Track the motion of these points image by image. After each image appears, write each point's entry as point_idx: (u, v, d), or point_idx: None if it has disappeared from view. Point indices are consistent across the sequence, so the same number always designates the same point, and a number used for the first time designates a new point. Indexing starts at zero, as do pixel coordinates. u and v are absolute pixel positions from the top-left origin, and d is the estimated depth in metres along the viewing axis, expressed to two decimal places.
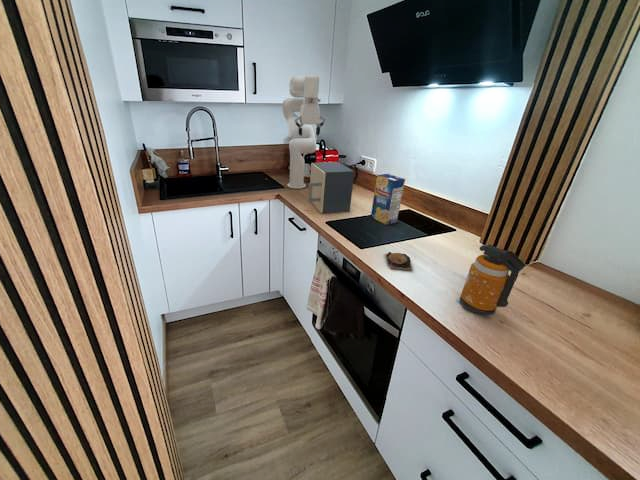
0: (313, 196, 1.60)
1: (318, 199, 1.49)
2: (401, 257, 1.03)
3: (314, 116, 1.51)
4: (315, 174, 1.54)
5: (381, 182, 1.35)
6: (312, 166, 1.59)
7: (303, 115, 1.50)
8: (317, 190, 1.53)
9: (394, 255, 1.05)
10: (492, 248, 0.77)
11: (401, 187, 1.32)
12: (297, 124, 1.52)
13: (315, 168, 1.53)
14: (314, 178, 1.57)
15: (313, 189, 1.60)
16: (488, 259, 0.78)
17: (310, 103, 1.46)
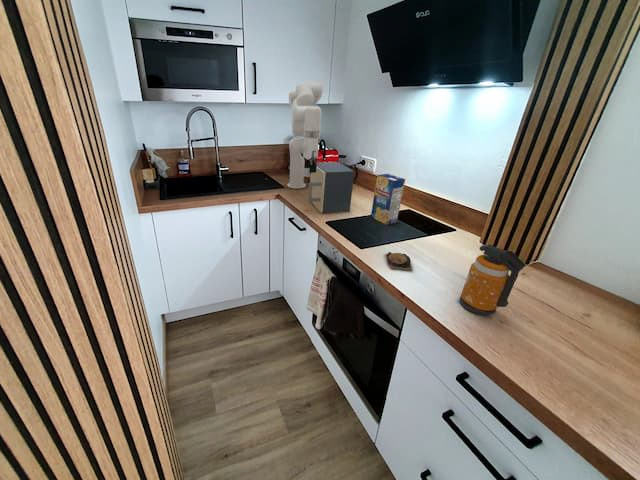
0: (313, 196, 1.60)
1: (318, 199, 1.49)
2: (401, 257, 1.03)
3: None
4: (315, 174, 1.54)
5: (381, 182, 1.35)
6: None
7: (317, 150, 1.35)
8: (317, 190, 1.53)
9: (394, 255, 1.05)
10: (492, 248, 0.77)
11: (401, 187, 1.32)
12: (316, 161, 1.34)
13: None
14: (314, 178, 1.57)
15: (313, 189, 1.60)
16: (488, 259, 0.78)
17: (319, 136, 1.36)
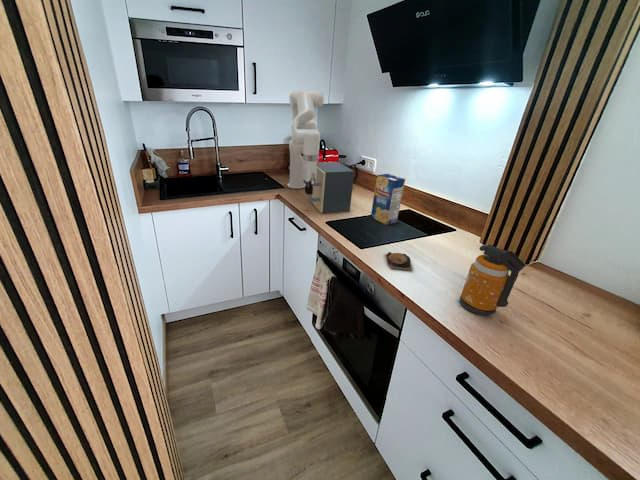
0: (313, 196, 1.60)
1: (318, 199, 1.49)
2: (401, 257, 1.03)
3: None
4: None
5: (381, 182, 1.35)
6: None
7: None
8: (317, 190, 1.53)
9: (394, 255, 1.05)
10: (492, 248, 0.77)
11: (401, 187, 1.32)
12: None
13: None
14: None
15: (313, 189, 1.60)
16: (488, 259, 0.78)
17: None
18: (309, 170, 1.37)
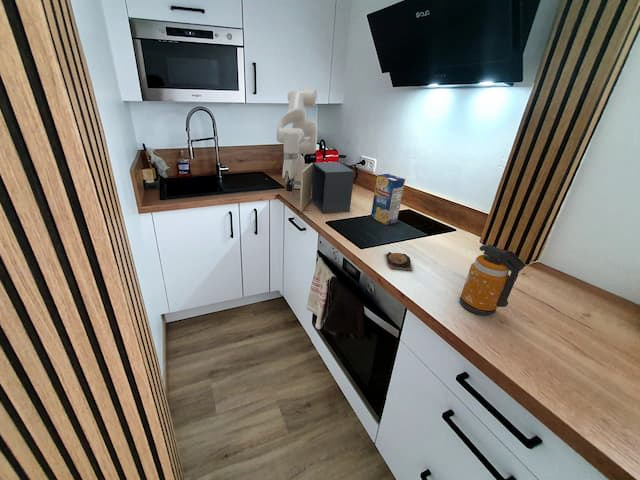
0: None
1: (299, 198, 1.50)
2: (401, 257, 1.03)
3: (296, 169, 1.47)
4: None
5: (381, 182, 1.35)
6: None
7: (291, 171, 1.42)
8: None
9: (394, 255, 1.05)
10: (492, 248, 0.77)
11: (401, 187, 1.32)
12: (289, 182, 1.45)
13: None
14: None
15: None
16: (488, 259, 0.78)
17: (296, 158, 1.41)
18: (283, 167, 1.42)
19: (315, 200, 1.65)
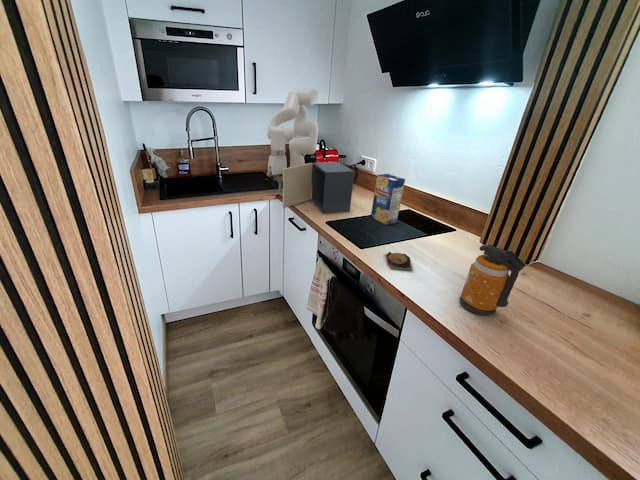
0: None
1: None
2: (401, 257, 1.03)
3: (283, 166, 1.53)
4: None
5: (381, 182, 1.35)
6: None
7: (273, 167, 1.49)
8: None
9: (394, 255, 1.05)
10: (492, 248, 0.77)
11: (401, 187, 1.32)
12: (271, 177, 1.52)
13: None
14: None
15: None
16: (488, 259, 0.78)
17: (280, 155, 1.48)
18: (268, 162, 1.51)
19: (315, 200, 1.65)
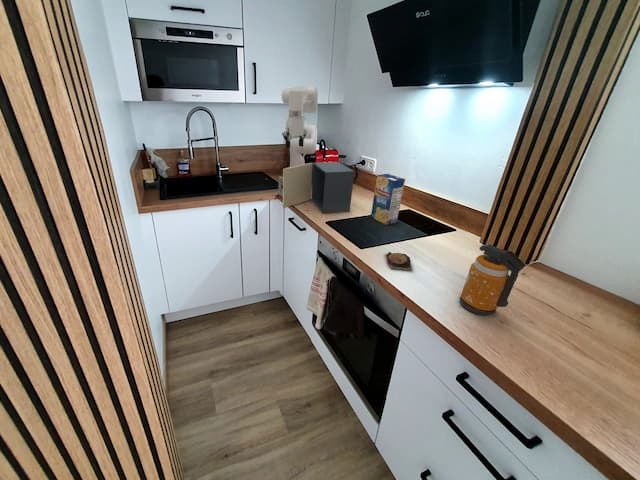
0: None
1: None
2: (401, 257, 1.03)
3: (300, 128, 1.53)
4: None
5: (381, 182, 1.35)
6: None
7: (291, 128, 1.50)
8: None
9: (394, 255, 1.05)
10: (492, 248, 0.77)
11: (401, 187, 1.32)
12: (286, 137, 1.51)
13: None
14: None
15: None
16: (488, 259, 0.78)
17: (298, 116, 1.48)
18: (286, 124, 1.52)
19: (315, 200, 1.65)
